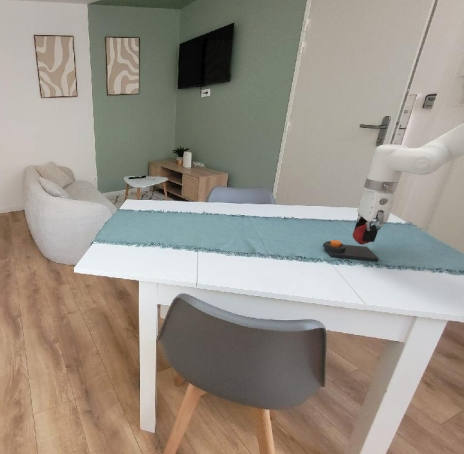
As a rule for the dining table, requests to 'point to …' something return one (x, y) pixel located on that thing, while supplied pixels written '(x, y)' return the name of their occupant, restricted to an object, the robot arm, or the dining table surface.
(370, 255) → the scale
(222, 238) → the dining table surface
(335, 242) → the tare button
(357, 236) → the onion
